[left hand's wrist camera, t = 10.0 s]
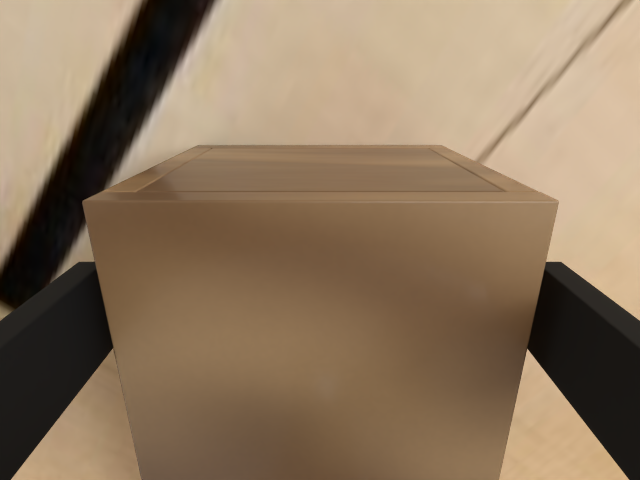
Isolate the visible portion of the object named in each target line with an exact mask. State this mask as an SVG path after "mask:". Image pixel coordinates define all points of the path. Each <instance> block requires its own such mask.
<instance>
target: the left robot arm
mask: <svg viewBox="0 0 640 480" xmlns="http://www.w3.org/2000/svg"><path fill="white" fill-rule="evenodd" d="M112 349H113V344H112V339H111V334H110V330H109V325H108V320H107V316H106V311H105V306H104V302H103V297H102V292H101V288H100V283H99V278H98V274H97V269H96V264H95V262H78V263H77V264H76V265H74V266H73V267H72V268H70V269H69V270H68V271H66V272H65V273H64V274H62V275H61V276H60V277H58V278H57V279H56V280H54V281H53V282H52V283H50V284H49V285H48V286H46V287H45V288H44V289H42V290H41V291H40V292H38V293H37V294H36V295H34V296H33V297H32V298H30V299H29V300H27V301H26V302H25V303H23V304H22V305H21V306H19V307H18V308H17V309H15V310H14V311H13V312H11V313H10V314H9V315H7V316H6V317H5V318H3V319H2V320H1V321H0V480H11V479H12V477H13V476H14V475H15V473H16V472H17V471H18V470H19V468H20V467H21V466H22V464H23V463H24V462H25V461H26V459H27V458H28V457H29V455H30V454H31V453H32V452H33V450H34V449H35V448H36V446H37V445H38V444H39V443H40V441H41V440H42V439H43V437H44V436H45V435H46V434H47V432H48V431H49V430H50V428H51V427H52V426H53V425H54V423H55V422H56V421H57V419H58V418H59V417H60V416H61V414H62V413H63V412H64V410H65V409H66V408H67V407H68V405H69V404H70V403H71V401H72V400H73V399H74V398H75V396H76V395H77V394H78V392H79V391H80V390H81V389H82V387H83V386H84V385H85V383H86V382H87V381H88V380H89V378H90V377H91V376H92V374H93V373H94V372H95V371H96V369H97V368H98V367H99V365H100V364H101V363H102V362H103V360H104V359H105V358H106V356H107V355H108V354H109V353H110V351H111V350H112ZM527 349H528V350H529V351H530V353H531V354H532V355H533V356H534V358H535V359H536V360H537V362H538V363H539V364H540V365H541V367H542V368H543V369H544V371H545V372H546V373H547V374H548V376H549V377H550V378H551V380H552V381H553V382H554V383H555V385H556V386H557V387H558V389H559V390H560V391H561V392H562V394H563V395H564V396H565V398H566V399H567V400H568V401H569V403H570V404H571V405H572V407H573V408H574V409H575V410H576V412H577V413H578V414H579V416H580V417H581V418H582V419H583V421H584V422H585V423H586V425H587V426H588V427H589V428H590V430H591V431H592V432H593V434H594V435H595V436H596V437H597V439H598V440H599V441H600V443H601V444H602V445H603V446H604V448H605V449H606V450H607V452H608V453H609V454H610V455H611V457H612V458H613V459H614V461H615V462H616V463H617V464H618V466H619V467H620V468H621V470H622V471H623V472H624V473H625V475H626V476H627V477H628V479H629V480H640V321H639V320H638V319H637V318H635V317H634V316H633V315H631V314H630V313H629V312H627V311H626V310H625V309H623V308H622V307H621V306H619V305H618V304H617V303H615V302H614V301H613V300H611V299H610V298H608V297H607V296H606V295H604V294H603V293H602V292H600V291H599V290H598V289H596V288H595V287H594V286H592V285H591V284H590V283H588V282H587V281H586V280H584V279H583V278H582V277H580V276H579V275H578V274H576V273H575V272H574V271H572V270H571V269H570V268H568V267H567V266H566V265H564V264H563V263H562V262H546V264H545V268H544V273H543V277H542V282H541V287H540V291H539V296H538V301H537V305H536V310H535V314H534V319H533V324H532V328H531V333H530V338H529V342H528V347H527Z"/></svg>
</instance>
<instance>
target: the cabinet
mask: <svg viewBox="0 0 640 480" xmlns="http://www.w3.org/2000/svg"><path fill="white" fill-rule="evenodd" d="M558 203H559V202H558V200H556V199H554V198H552V197H549V196H547V195H545V194H543V193H541V192H538V191H536V190H534V189H532V188H530V187H528V186H525V185H523V184H521V183H519V182H517V181H515V180H513V179H511V178H509V177H507V176H504V175H502V174H500V173H498V172H496V171H494V170H492V169H490V168H488V167H486V166H483V165H481V164H479V163H477V162H475V161H473V160H471V159H469V158H467V157H465V156H463V155H460V154H458V153H456V152H454V151H452V150H450V149H448V148H446V147H444V146H442V145H198V146H196V147H194V148H192V149H189V150H187V151H185V152H183V153H181V154H179V155H177V156H175V157H173V158H171V159H169V160H167V161H164V162H162V163H160V164H158V165H156V166H154V167H152V168H150V169H148V170H146V171H144V172H142V173H139V174H137V175H135V176H133V177H131V178H129V179H127V180H125V181H123V182H121V183H119V184H117V185H114V186H112V187H110V188H108V189H106V190H104V191H102V192H100V193H98V194H96V195H94V196H92V197H90V198H87V199H85V200H83V201H82V204H83V209H84V213H85V218H86V223H87V227H88V232H89V237H90V241H91V246H92V251H93V255H94V260H95V264H96V269H97V274H98V278H99V283H100V288H101V292H102V297H103V302H104V306H105V311H106V316H107V320H108V325H109V330H110V334H111V339H112V344H113V348H114V353H115V358H116V362H117V367H118V372H119V376H120V381H121V385H122V390H123V395H124V399H125V404H126V409H127V413H128V418H129V423H130V427H131V432H132V437H133V441H134V446H135V451H136V455H137V460H138V465H139V469H140V474H141V479H142V480H499V477H500V472H501V467H502V463H503V458H504V453H505V449H506V444H507V439H508V435H509V430H510V426H511V421H512V416H513V412H514V407H515V402H516V398H517V393H518V389H519V384H520V379H521V375H522V370H523V365H524V361H525V356H526V352H527V347H528V342H529V338H530V333H531V328H532V324H533V319H534V314H535V310H536V305H537V301H538V296H539V291H540V287H541V282H542V277H543V273H544V268H545V264H546V259H547V254H548V250H549V245H550V240H551V236H552V231H553V226H554V222H555V217H556V213H557V208H558Z"/></svg>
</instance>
